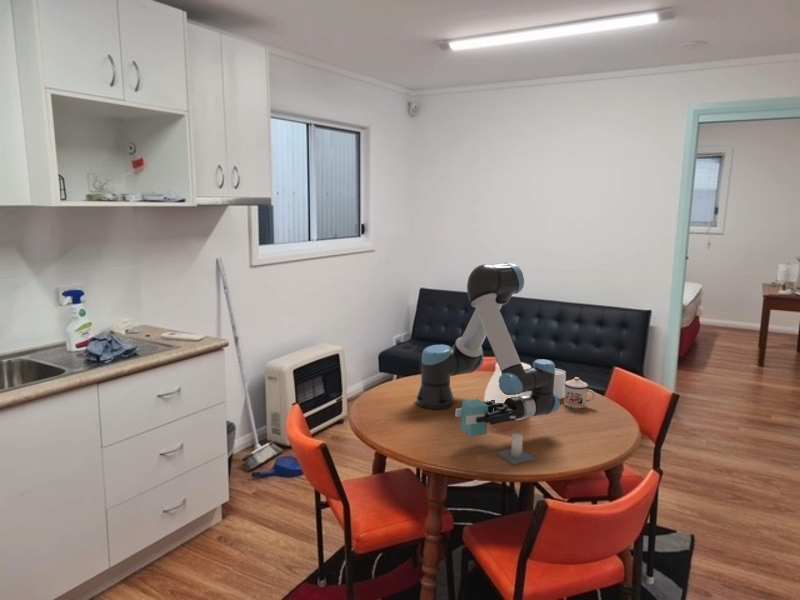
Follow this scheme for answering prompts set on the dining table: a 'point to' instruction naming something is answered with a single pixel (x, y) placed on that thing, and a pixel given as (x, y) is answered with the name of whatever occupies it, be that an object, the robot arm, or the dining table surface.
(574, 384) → the teacup with lid
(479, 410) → the teal rectangular prism
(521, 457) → the post
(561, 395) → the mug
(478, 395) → the dining table surface
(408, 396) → the dining table surface
